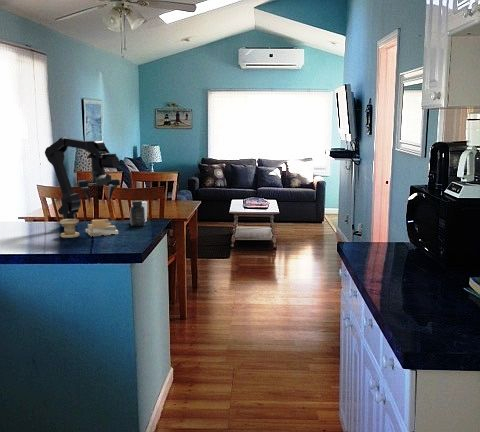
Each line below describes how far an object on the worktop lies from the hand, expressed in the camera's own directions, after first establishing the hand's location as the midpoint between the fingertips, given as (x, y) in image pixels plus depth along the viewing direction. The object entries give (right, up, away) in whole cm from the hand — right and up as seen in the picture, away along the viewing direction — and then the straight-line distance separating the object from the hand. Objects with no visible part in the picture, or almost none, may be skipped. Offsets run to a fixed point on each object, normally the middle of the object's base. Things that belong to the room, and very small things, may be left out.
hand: (99, 201), depth 262 cm
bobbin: (-9, -16, -15) cm, 23 cm away
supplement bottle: (+16, -12, +10) cm, 22 cm away
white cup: (+15, -10, +21) cm, 28 cm away
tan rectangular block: (+3, -13, -9) cm, 16 cm away
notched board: (+3, -15, -8) cm, 17 cm away
